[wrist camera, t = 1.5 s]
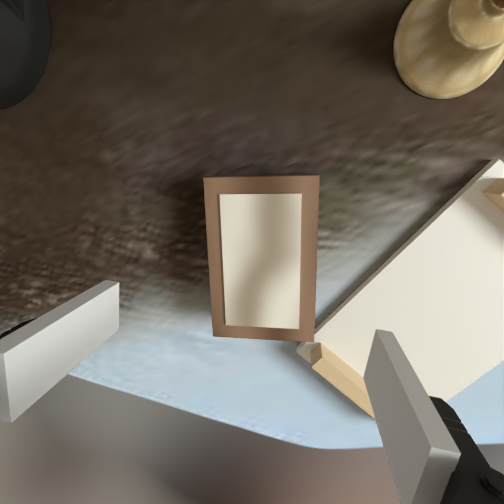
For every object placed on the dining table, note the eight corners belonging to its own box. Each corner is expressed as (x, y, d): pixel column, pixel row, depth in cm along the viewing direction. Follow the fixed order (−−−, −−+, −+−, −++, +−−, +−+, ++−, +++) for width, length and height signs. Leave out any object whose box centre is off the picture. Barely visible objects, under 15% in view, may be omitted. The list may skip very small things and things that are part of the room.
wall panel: (296, 346, 32) (295, 372, 28) (491, 159, 25) (528, 158, 21) (396, 428, 33) (409, 465, 29) (612, 268, 26) (670, 287, 22)
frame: (225, 311, 33) (212, 337, 28) (219, 176, 29) (202, 177, 24) (311, 316, 32) (314, 343, 27) (316, 174, 28) (319, 175, 23)
